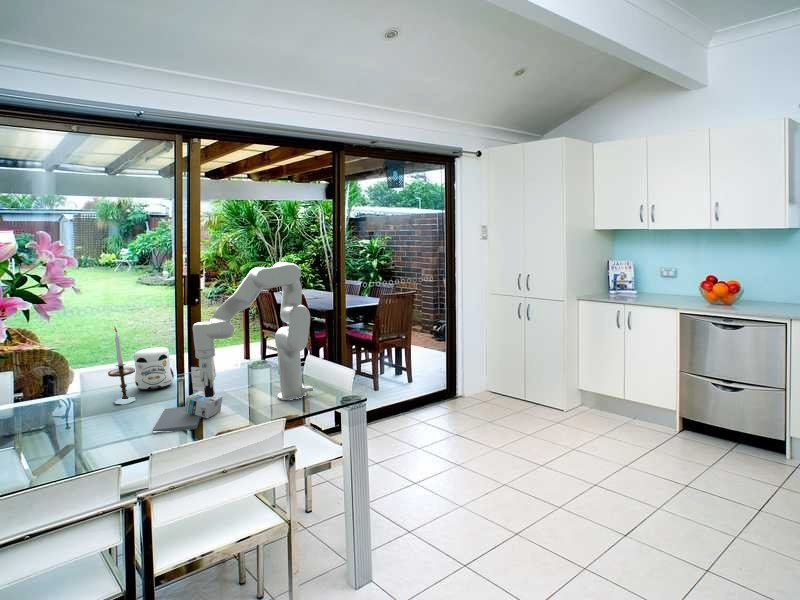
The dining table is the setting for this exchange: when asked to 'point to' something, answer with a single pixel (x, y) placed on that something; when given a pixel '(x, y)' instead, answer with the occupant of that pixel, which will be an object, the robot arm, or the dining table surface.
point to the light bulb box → (203, 404)
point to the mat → (176, 420)
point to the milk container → (153, 368)
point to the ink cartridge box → (197, 381)
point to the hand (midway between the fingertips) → (209, 396)
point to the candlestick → (121, 367)
